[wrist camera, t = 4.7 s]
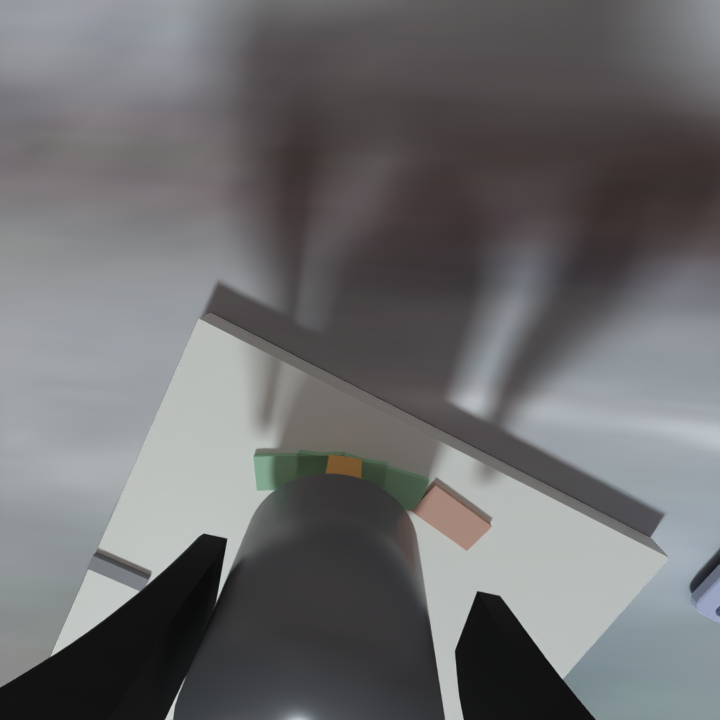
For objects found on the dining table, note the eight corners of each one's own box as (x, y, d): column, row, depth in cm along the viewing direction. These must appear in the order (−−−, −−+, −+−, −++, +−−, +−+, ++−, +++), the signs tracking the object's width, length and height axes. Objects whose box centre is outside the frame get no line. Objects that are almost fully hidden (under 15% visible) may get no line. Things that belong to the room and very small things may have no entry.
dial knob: (372, 723, 16) (374, 1002, 11) (236, 705, 16) (161, 976, 10) (427, 465, 14) (473, 650, 8) (263, 441, 13) (178, 609, 7)
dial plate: (651, 537, 16) (673, 562, 15) (389, 844, 21) (390, 881, 20) (210, 312, 14) (196, 320, 13) (34, 707, 19) (12, 738, 18)
